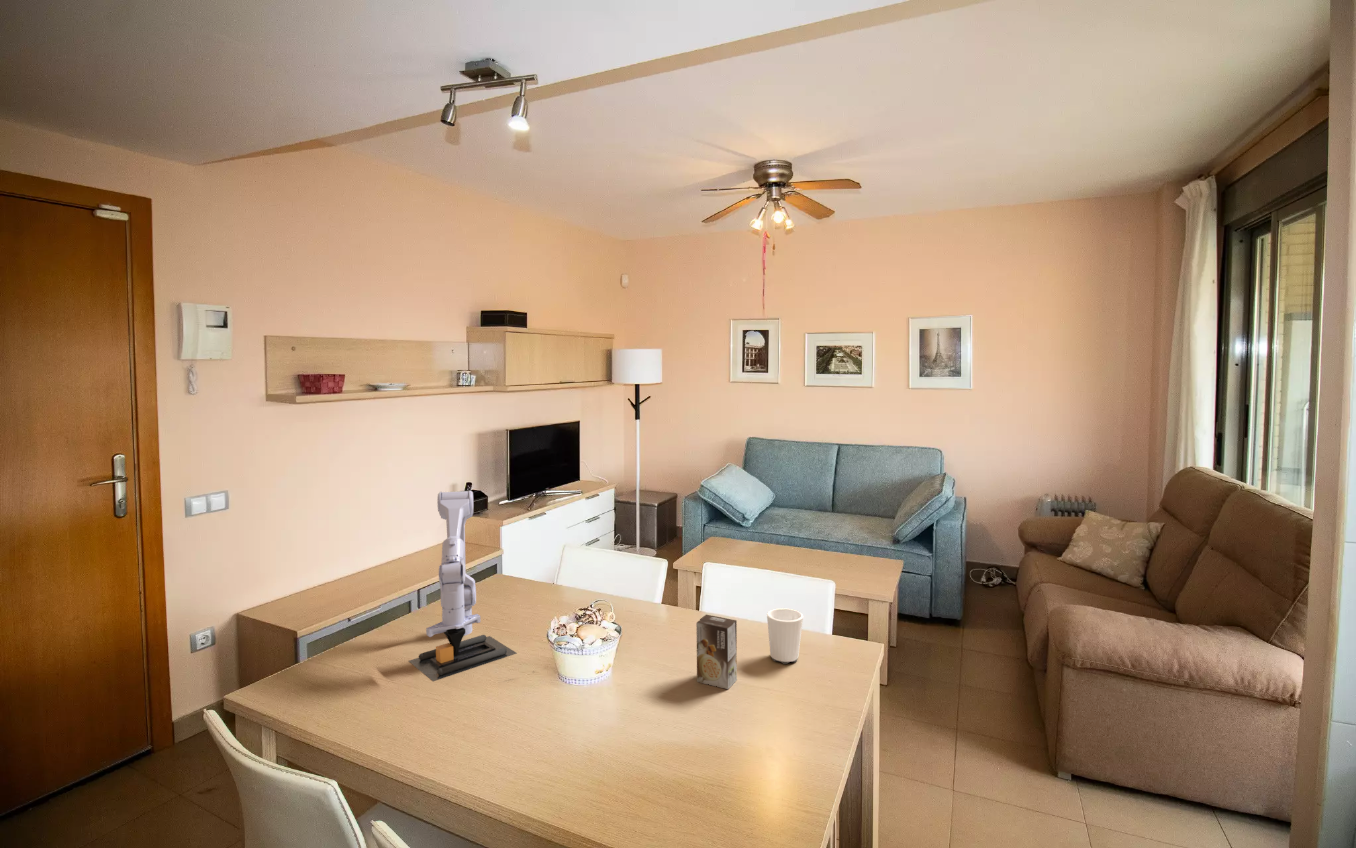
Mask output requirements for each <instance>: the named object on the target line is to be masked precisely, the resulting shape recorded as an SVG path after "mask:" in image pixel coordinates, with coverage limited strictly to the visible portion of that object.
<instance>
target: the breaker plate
mask: <svg viewBox="0 0 1356 848" xmlns="http://www.w3.org/2000/svg"><path fill="white" fill-rule="evenodd" d="M486 637H487V638H486V640H485V641H483V642H480V643H476V644H473V645H470V646H467V647H463V648H460V649H459V652H458V655H457V656H455V655H453V656H454V659H453V660H450V661H447V662H444V663H440V662H438V661H437V660H436V656H434V657H431V658H428V659H424V660H420V659H419V657H416V658H413V659H410V660H409V659H408V663H410V664H412V665H413V667H414V668H416V669H417V670H418V671H419V672H421V673H422V674H423V675H424V676H426V677H427V678H428V679H429V680H431V681H432V682H435V681H439V680H442V679H445V678H447V677H451V676H455V675H457V674H460V673H463V672H466V671H469V670H472V669H475V668H478V667H481V666H484V665H487V664H490V663H492V662H493V663H494V662H495V661H499V660H502V659H504V658H508V657H511V656H514V655H516V654H518V652H516V651H514V650H513V649H512V648H510V647H509V646H507V645H505V644H503V643H502V642H500V641H498V640H497V639H495V638H493V637H492V636H491V635H489V636H486ZM501 648H506V649H507V653H506V654H504V655H501V656H498V657H495V658H492V659H489V660H486V661H483V662H480V663H477V664H474V665H471V666H468V667H465V668H462V669H459V670H455V671H452V672H449V673H446V674H443V675H438V673H437V671H438V669H439V668H442V667H445V666H448V665H451V664H454V663H457V662H460V661H464V660H467V659H470V658H473V657H476V656H479V655H482V654H485V653H488V652H492V651H495V650H498V649H501Z"/></svg>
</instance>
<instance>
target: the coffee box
mask: <svg viewBox="0 0 1356 848" xmlns="http://www.w3.org/2000/svg"><path fill="white" fill-rule="evenodd" d="M695 626H696V682H697V683H700V684H705V685H708V684H709V686H713V687H716V686H717V687H716V688H722V689H725V690H729V689H730V688H731V687H732V686H733V685H734V684H735V683H736V682H737V680H738V679H737V678H738V672H737V671H738V670H737V669H738V668H737V666H738V665H737V661H738V660H737V659H738V658H737V648H738V647H737V642H738V641H737V637H738V636H737V631H738V630H737V626H738V625H737V620H736V619H732V618H726V617H721V616H715V615H711V614H705V615H703V616H702V617H700V618H699V620H698V621H697V622H696V625H695Z"/></svg>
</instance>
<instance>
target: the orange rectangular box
mask: <svg viewBox="0 0 1356 848" xmlns="http://www.w3.org/2000/svg"><path fill="white" fill-rule="evenodd" d="M435 649H436V660H437V661H438V662H440V663H444V662H447V661H450V660H453V659H454V656H453V646H452V645H451V644H450V643H449V642H447V643H444V644H440V645H437V646H435Z"/></svg>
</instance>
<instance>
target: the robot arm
mask: <svg viewBox="0 0 1356 848" xmlns="http://www.w3.org/2000/svg"><path fill="white" fill-rule="evenodd" d="M436 501H437V503H436V505H437V512H438V514H439V516H440V519H442V520H446V536H447V537H446V539H444V540H443V542H442V543H441V544H442V547H441V563H440V564H439V566H438V581H439V586H440V589H439V590H440V606H441V610H442V611H441V612H442V613H441V615H442V616H441V622H437V623H435V624H433V625H431V626H428V627H426V629H425V630H426V631H425V633H426V636H427V637H429V638H431V637H433V636H434V635H439V634H445V637H446V639H447V641H448V643H450V644H451V645H452V646H453V655H455V656H457V655H458V652H459V646H460V643H461V641H463V638H464V636H468V635H470V634H472V632H473V625H474V624H478V623H479V624H480V623H481V615H480V614H478V613H475V614H473V609H472V608H473V607H474V606H475V605H476V604H477V587H476V580H475V579H474V578H473V577H471V576H470V575H469V574H467V571H466V567H467V565H466V527H465V526H466V523H467V520H468V519H470V518H472V517H473V515H474V492H473V491H472V490H464V491H462V490H460V491H439V493H438V494H437V500H436Z"/></svg>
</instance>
